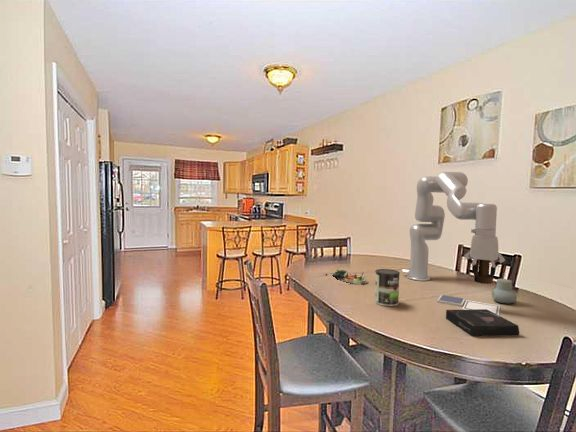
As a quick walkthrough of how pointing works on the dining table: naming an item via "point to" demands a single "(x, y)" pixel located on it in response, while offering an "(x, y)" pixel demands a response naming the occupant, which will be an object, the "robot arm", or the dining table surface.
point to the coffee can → (387, 287)
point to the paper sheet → (481, 306)
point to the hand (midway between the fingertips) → (483, 274)
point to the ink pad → (451, 300)
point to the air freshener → (504, 292)
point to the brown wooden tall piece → (483, 273)
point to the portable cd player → (482, 323)
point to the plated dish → (349, 277)
